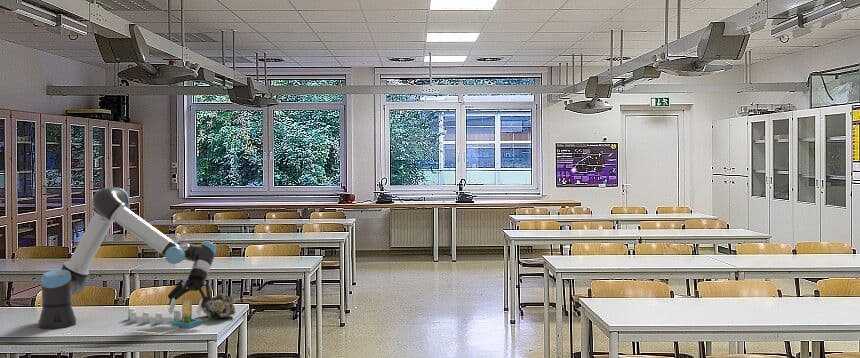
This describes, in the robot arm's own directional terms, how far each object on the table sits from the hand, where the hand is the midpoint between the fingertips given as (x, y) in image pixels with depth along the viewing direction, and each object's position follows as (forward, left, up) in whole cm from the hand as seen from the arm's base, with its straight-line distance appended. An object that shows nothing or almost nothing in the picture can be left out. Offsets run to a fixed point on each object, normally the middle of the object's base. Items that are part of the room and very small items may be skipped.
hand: (183, 312), depth 359 cm
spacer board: (-19, +3, -6) cm, 21 cm away
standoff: (-1, +3, -5) cm, 6 cm away
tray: (0, +2, -6) cm, 7 cm away
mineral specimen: (+2, +22, -6) cm, 23 cm away
